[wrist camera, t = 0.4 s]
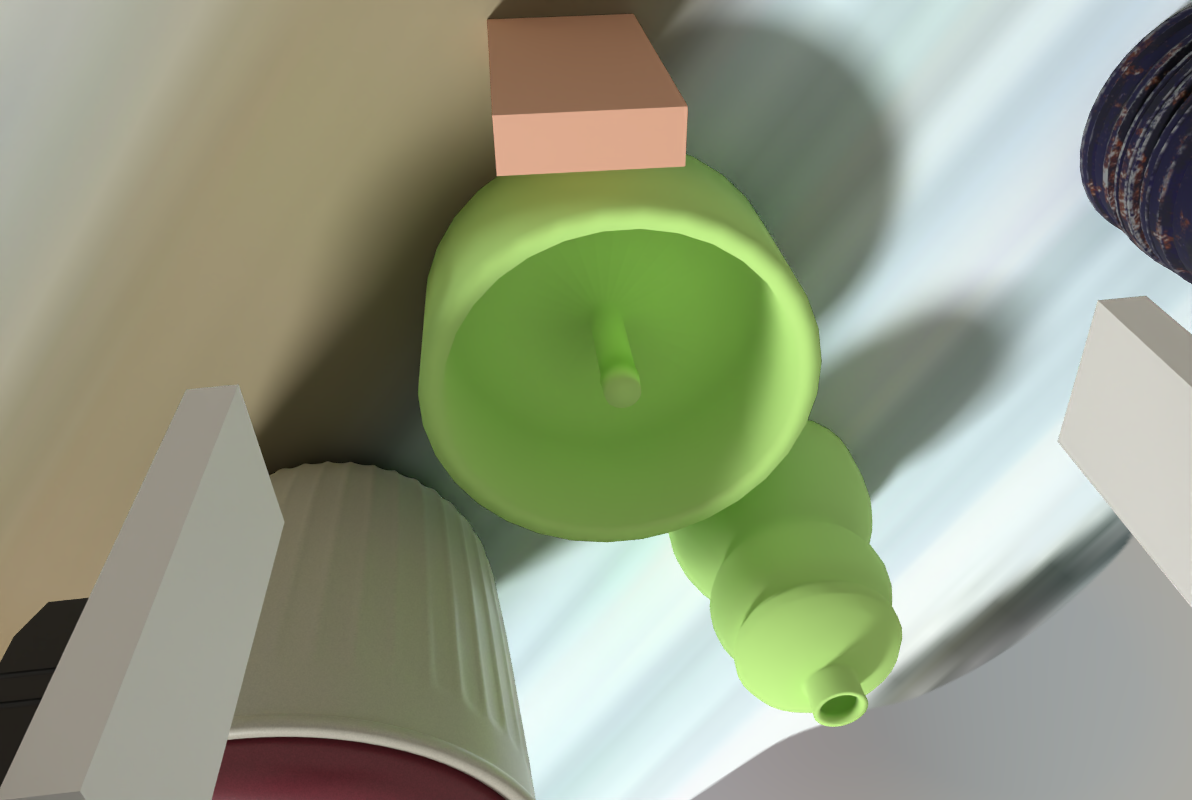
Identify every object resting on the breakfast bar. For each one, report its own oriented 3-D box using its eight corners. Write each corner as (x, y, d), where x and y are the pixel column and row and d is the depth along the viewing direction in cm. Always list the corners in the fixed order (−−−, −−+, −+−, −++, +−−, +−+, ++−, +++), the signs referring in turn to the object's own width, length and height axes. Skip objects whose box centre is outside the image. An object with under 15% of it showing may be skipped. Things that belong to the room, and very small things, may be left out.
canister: (608, 567, 47) (685, 1038, 30) (336, 720, 52) (269, 1205, 35) (360, 319, 38) (268, 800, 21) (54, 533, 42) (-231, 1073, 25)
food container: (348, 287, 37) (301, 495, 27) (651, 57, 33) (731, 197, 23) (685, 612, 50) (739, 836, 40) (931, 473, 46) (1062, 681, 36)
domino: (632, 61, 33) (685, 166, 25) (490, 67, 33) (497, 176, 25) (633, 13, 32) (688, 106, 24) (486, 19, 32) (492, 115, 24)
